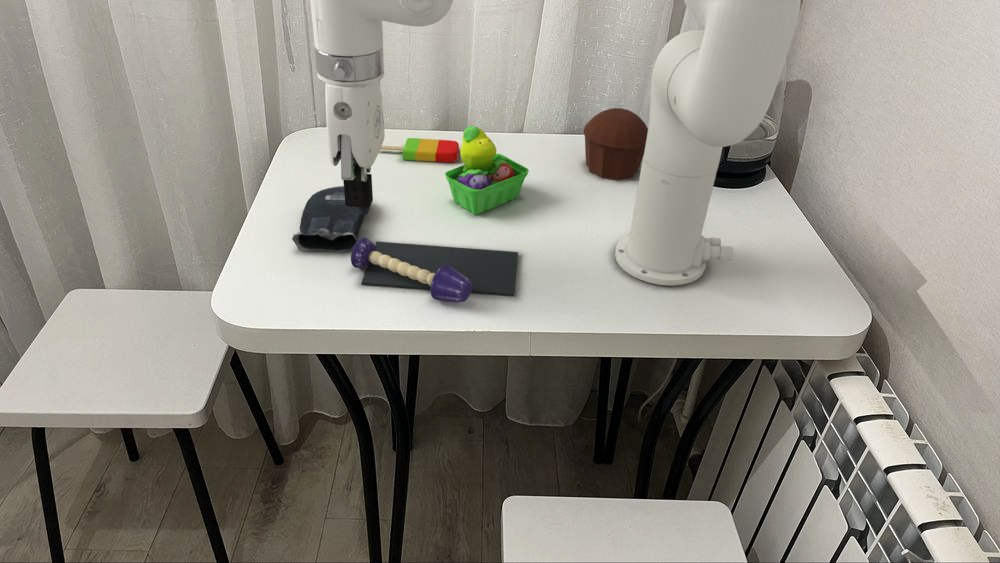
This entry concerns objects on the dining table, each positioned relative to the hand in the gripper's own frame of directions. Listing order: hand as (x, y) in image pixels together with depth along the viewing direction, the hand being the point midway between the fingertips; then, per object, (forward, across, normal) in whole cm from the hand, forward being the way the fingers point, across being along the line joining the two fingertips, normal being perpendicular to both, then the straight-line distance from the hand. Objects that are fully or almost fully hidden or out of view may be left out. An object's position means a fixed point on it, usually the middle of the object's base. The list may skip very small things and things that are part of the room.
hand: (359, 203), depth 95 cm
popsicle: (+10, +35, -2) cm, 36 cm away
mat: (+10, +1, -11) cm, 14 cm away
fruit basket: (+10, +21, -15) cm, 27 cm away
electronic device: (+10, +10, +6) cm, 16 cm away
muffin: (+10, +35, -36) cm, 51 cm away
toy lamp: (+7, 0, +1) cm, 7 cm away
